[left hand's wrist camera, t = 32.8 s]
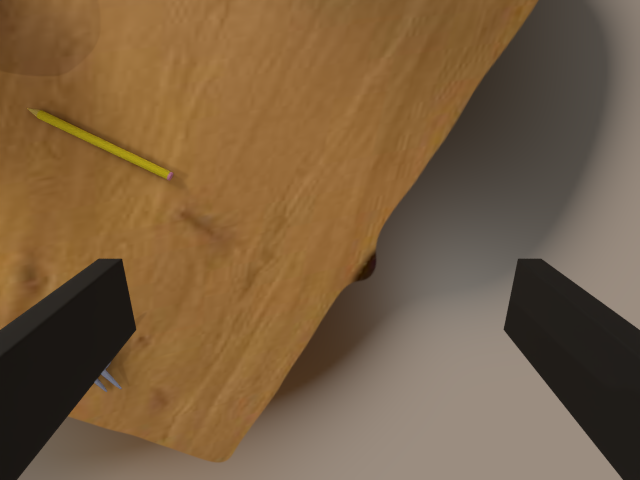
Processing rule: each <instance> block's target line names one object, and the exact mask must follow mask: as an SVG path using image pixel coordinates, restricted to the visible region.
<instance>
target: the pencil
mask: <svg viewBox="0 0 640 480" xmlns="http://www.w3.org/2000/svg"><path fill="white" fill-rule="evenodd" d="M27 109H28V110H29V111H30V112H31V113H33V114H34V115H35V116H36V117H37V118H38V119H40V120H43V121H45V122H47V123H49V124H51V125H53V126H55V127H57V128H59V129H62V130H64V131H66V132H68V133H70V134H72V135H74V136H76V137H78V138H81V139H83V140H85V141H87V142H89V143H91V144H93V145H95V146H98V147H100V148H102V149H104V150H106V151H108V152H110V153H112V154H114V155H117V156H119V157H121V158H123V159H125V160H127V161H129V162H131V163H133V164H136V165H138V166H140V167H142V168H144V169H146V170H148V171H150V172H153V173H155V174H157V175H159V176H161V177H163V178H165V179H167V180H171V178H172V176H173V173H172V172H170V171H168V170H166V169H164V168H162V167H160V166H158V165H156V164H154V163H151V162H149V161H147V160H145V159H143V158H141V157H139V156H137V155H135V154H133V153H130V152H128V151H126V150H124V149H122V148H120V147H118V146H116V145H114V144H112V143H109V142H107V141H105V140H103V139H101V138H99V137H97V136H95V135H93V134H91V133H88V132H86V131H84V130H82V129H80V128H78V127H76V126H74V125H72V124H70V123H67V122H65V121H63V120H61V119H59V118H57V117H55V116H53V115H51V114H49V113H46V112H44V111H42V110H37V109H31V108H27Z"/></svg>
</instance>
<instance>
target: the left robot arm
mask: <svg viewBox="0 0 640 480" xmlns="http://www.w3.org/2000/svg"><path fill="white" fill-rule="evenodd" d="M504 330H505V332H506V333H507V334H508V336H509V337H510V338H511V339H512V341H513V342H514V343H515V344H516V346H517V347H518V348H519V349H520V351H521V352H522V353H523V354H524V356H525V357H526V358H527V360H528V361H529V362H530V363H531V365H532V366H533V367H534V368H535V370H536V371H537V372H538V373H539V375H540V376H541V377H542V378H543V380H544V381H545V382H546V383H547V385H548V386H549V387H550V388H551V390H552V391H553V392H554V393H555V395H556V396H557V397H558V398H559V400H560V401H561V402H562V403H563V405H564V406H565V407H566V409H567V410H568V411H569V412H570V414H571V415H572V416H573V417H574V419H575V420H576V421H577V422H578V424H579V425H580V426H581V427H582V429H583V430H584V431H585V432H586V434H587V435H588V436H589V437H590V439H591V440H592V441H593V443H594V444H595V445H596V446H597V447H598V449H599V450H600V451H601V453H602V454H603V455H604V456H605V458H606V459H607V460H608V461H609V463H610V464H611V465H612V466H613V468H614V469H615V470H616V471H617V473H618V474H619V475H620V476H621V478H622V479H623V480H640V330H639V329H638V328H636V327H635V326H633V325H632V324H631V323H629V322H628V321H626V320H625V319H624V318H622V317H621V316H620V315H618V314H617V313H615V312H614V311H613V310H611V309H610V308H608V307H607V306H606V305H604V304H603V303H602V302H600V301H599V300H597V299H596V298H595V297H593V296H592V295H590V294H589V293H588V292H586V291H585V290H584V289H582V288H581V287H579V286H578V285H577V284H575V283H574V282H573V281H571V280H570V279H568V278H567V277H566V276H564V275H563V274H562V273H560V272H559V271H557V270H556V269H555V268H553V267H552V266H550V265H549V264H548V263H546V262H545V261H544V260H542V259H518V262H517V267H516V271H515V277H514V281H513V286H512V292H511V296H510V301H509V306H508V311H507V316H506V321H505V326H504ZM135 331H136V326H135V321H134V316H133V311H132V306H131V301H130V296H129V291H128V286H127V281H126V276H125V271H124V267H123V262H122V259H98V260H96V261H95V262H94V263H92V264H91V265H90V266H88V267H87V268H85V269H84V270H83V271H81V272H80V273H78V274H77V275H76V276H74V277H73V278H72V279H70V280H69V281H67V282H66V283H65V284H63V285H62V286H61V287H59V288H58V289H56V290H55V291H54V292H52V293H51V294H49V295H48V296H47V297H45V298H44V299H43V300H41V301H40V302H38V303H37V304H36V305H34V306H33V307H31V308H30V309H29V310H27V311H26V312H25V313H23V314H22V315H20V316H19V317H18V318H16V319H15V320H14V321H12V322H11V323H9V324H8V325H7V326H5V327H4V328H2V329H1V330H0V480H17V479H18V478H19V476H20V475H21V474H22V473H23V471H24V470H25V469H26V468H27V466H28V465H29V464H30V463H31V461H32V460H33V459H34V458H35V456H36V455H37V454H38V453H39V451H40V450H41V449H42V448H43V446H44V445H45V444H46V442H47V441H48V440H49V439H50V437H51V436H52V435H53V434H54V432H55V431H56V430H57V429H58V427H59V426H60V425H61V424H62V422H63V421H64V420H65V419H66V417H67V416H68V415H69V414H70V412H71V411H72V410H73V409H74V407H75V406H76V405H77V404H78V402H79V401H80V400H81V399H82V397H83V396H84V395H85V393H86V392H87V391H88V390H89V388H90V387H91V386H92V385H93V383H94V382H95V381H96V380H97V378H98V377H99V376H100V375H101V373H102V372H103V371H104V370H105V368H106V367H107V366H108V365H109V363H110V362H111V361H112V360H113V358H114V357H115V356H116V355H117V353H118V352H119V351H120V349H121V348H122V347H123V346H124V344H125V343H126V342H127V341H128V339H129V338H130V337H131V336H132V334H133V333H134V332H135Z"/></svg>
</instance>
